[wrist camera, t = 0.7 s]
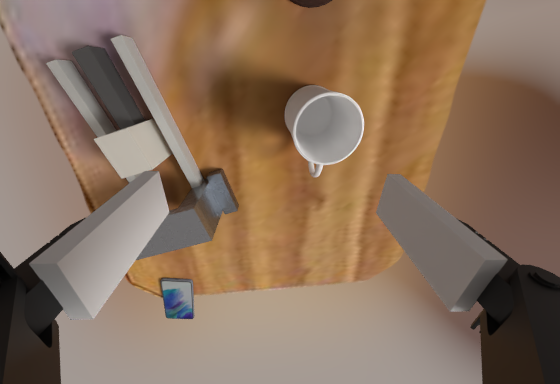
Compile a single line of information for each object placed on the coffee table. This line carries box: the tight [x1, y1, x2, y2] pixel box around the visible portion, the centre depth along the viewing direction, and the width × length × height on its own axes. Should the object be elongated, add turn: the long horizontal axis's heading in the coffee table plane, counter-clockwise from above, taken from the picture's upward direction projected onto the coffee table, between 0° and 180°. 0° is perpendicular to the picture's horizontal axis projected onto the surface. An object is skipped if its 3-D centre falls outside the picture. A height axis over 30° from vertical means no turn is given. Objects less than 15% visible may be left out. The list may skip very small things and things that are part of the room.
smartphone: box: [161, 278, 194, 319], centre depth 54 cm, size 7×1×15 cm
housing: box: [136, 169, 239, 260], centre depth 37 cm, size 8×19×10 cm, turn 106°
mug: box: [285, 85, 364, 177], centre depth 30 cm, size 12×8×12 cm
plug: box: [72, 46, 172, 179], centre depth 30 cm, size 16×5×7 cm, turn 16°
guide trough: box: [46, 35, 204, 188], centre depth 34 cm, size 22×11×2 cm, turn 16°
